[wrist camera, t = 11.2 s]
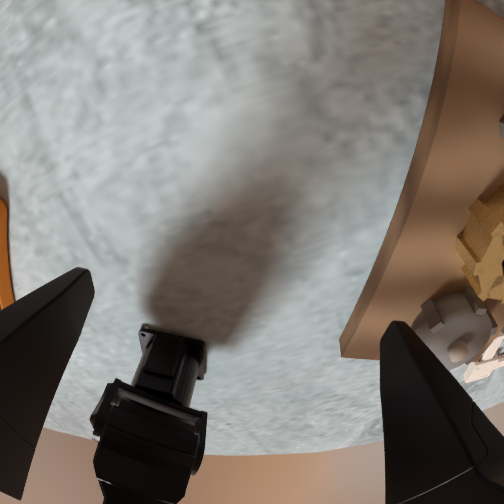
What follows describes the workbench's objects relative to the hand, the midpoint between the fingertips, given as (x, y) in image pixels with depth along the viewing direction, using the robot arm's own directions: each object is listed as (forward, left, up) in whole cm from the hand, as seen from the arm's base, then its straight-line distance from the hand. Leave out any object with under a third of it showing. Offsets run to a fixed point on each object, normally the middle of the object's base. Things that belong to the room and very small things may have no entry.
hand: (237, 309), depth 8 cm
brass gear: (0, -17, -10) cm, 20 cm away
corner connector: (-14, -31, -13) cm, 36 cm away
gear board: (0, -17, -12) cm, 21 cm away
